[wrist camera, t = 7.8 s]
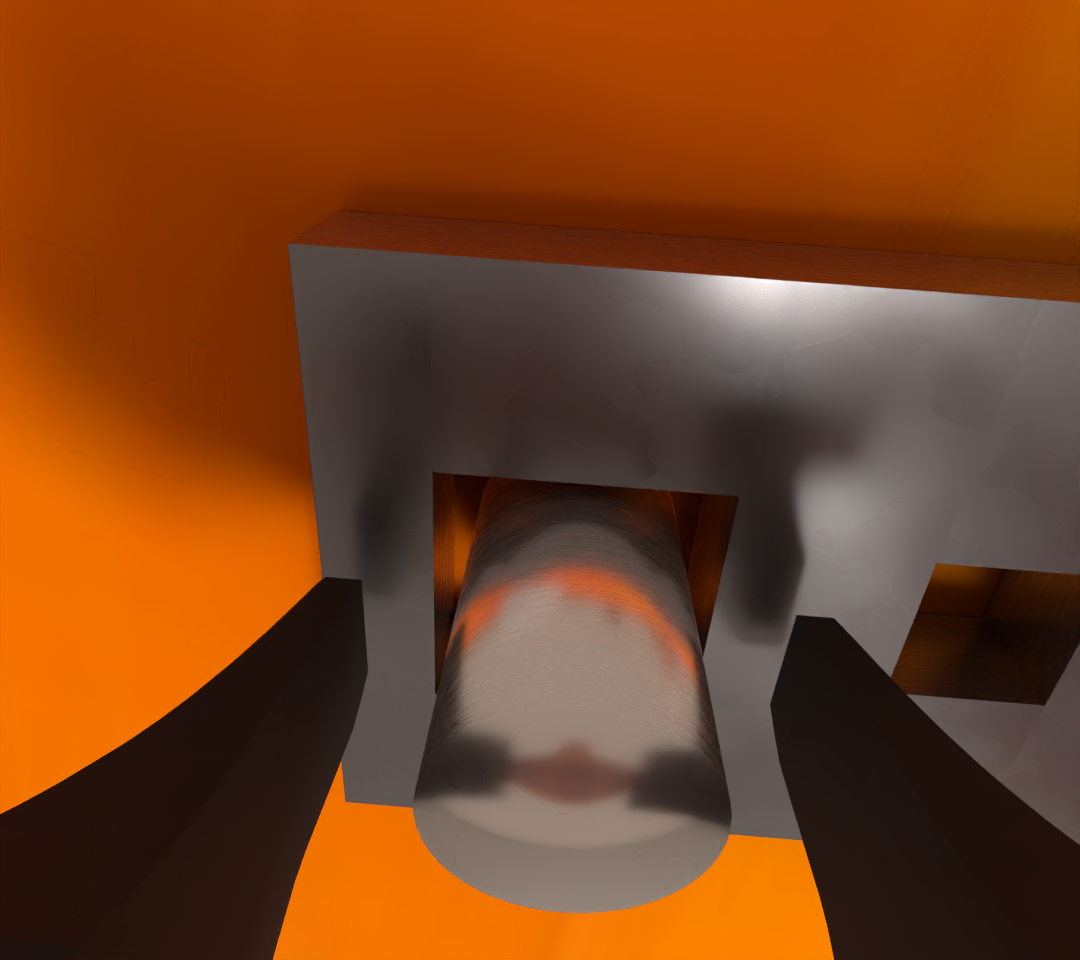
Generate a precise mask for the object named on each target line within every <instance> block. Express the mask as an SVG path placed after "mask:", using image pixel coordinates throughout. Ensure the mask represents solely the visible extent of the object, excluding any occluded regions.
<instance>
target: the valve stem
mask: <svg viewBox="0 0 1080 960" xmlns="http://www.w3.org/2000/svg"><path fill="white" fill-rule="evenodd" d="M413 813H414V818H415V822H416V826H417V829H418V831H419V834H420V836H421V838H422V840H423V842H424V843H425V845H426V846H427V848H428V850H429V851H430V852H431V853H432V855H433V856H434V857H435V858H436V859H437V860H438V862H439V863H441V864H442V865H443V866H444V867H445V868H446V869H447V870H448V871H449V872H451V873H452V874H453V875H455V876H456V877H458V878H459V879H460V880H462V881H463V882H465V883H467V884H468V885H470V886H472V887H474V888H476V889H477V890H479V891H482V892H484V893H486V894H488V895H491V896H493V897H495V898H498V899H501V900H504V901H507V902H510V903H513V904H517V905H521V906H525V907H529V908H534V909H540V910H546V911H555V912H565V913H594V912H607V911H614V910H622V909H626V908H631V907H635V906H640V905H643V904H646V903H649V902H653V901H656V900H658V899H661V898H663V897H666V896H668V895H670V894H673V893H674V892H676V891H678V890H680V889H682V888H683V887H685V886H687V885H688V884H690V883H691V882H693V881H694V880H695V879H697V878H698V877H700V876H701V875H702V874H703V873H704V872H705V871H706V870H707V869H708V868H709V867H710V866H711V865H712V864H713V863H714V861H715V860H716V859H717V858H718V856H719V855H720V853H721V851H722V850H723V848H724V846H725V844H726V842H727V839H728V836H729V833H730V829H731V820H732V812H731V802H730V797H729V791H728V786H727V781H726V776H725V771H724V765H723V760H722V755H721V750H720V745H719V739H718V734H717V729H716V724H715V719H714V713H713V708H712V703H711V698H710V692H709V687H708V682H707V677H706V672H705V666H704V661H703V656H702V651H701V646H700V640H699V635H698V630H697V625H696V620H695V614H694V609H693V604H692V599H691V593H690V588H689V583H688V578H687V573H686V567H685V562H684V557H683V552H682V547H681V541H680V536H679V531H678V526H677V521H676V515H675V510H674V505H673V500H672V497H671V493H670V491H666V490H653V489H641V488H628V487H615V486H602V485H590V484H577V483H564V482H551V481H539V480H526V479H513V478H500V477H490V478H489V480H488V482H487V484H486V486H485V489H484V492H483V494H482V499H481V503H480V508H479V512H478V516H477V521H476V525H475V530H474V534H473V538H472V543H471V547H470V551H469V556H468V560H467V565H466V569H465V573H464V578H463V582H462V587H461V591H460V595H459V600H458V604H457V608H456V613H455V617H454V622H453V626H452V630H451V635H450V639H449V643H448V648H447V652H446V657H445V661H444V665H443V670H442V674H441V679H440V683H439V687H438V692H437V696H436V700H435V705H434V709H433V714H432V718H431V722H430V727H429V731H428V736H427V740H426V744H425V749H424V753H423V757H422V762H421V766H420V771H419V775H418V779H417V784H416V788H415V794H414V799H413Z"/></svg>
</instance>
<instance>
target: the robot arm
mask: <svg viewBox="0 0 1080 960" xmlns="http://www.w3.org/2000/svg"><path fill="white" fill-rule="evenodd" d="M367 674H368V662H367V647H366V633H365V619H364V605H363V591H362V580H359V579H347V578H335V577H325V578H323V579H322V580H321V581H320V582H318V583H317V584H316V585H315V586H314V587H313V588H312V589H311V590H310V591H309V592H308V593H307V594H306V595H305V596H304V597H303V598H302V599H301V600H300V601H299V602H297V603H296V604H295V605H294V606H293V607H292V608H291V609H290V610H289V611H288V612H287V613H286V614H285V615H284V616H283V617H282V618H281V619H280V620H279V621H278V622H276V623H275V624H274V625H273V626H272V627H271V628H270V629H269V630H268V631H267V632H266V633H265V634H263V635H262V636H261V637H260V638H259V639H258V640H257V641H256V642H255V643H253V644H252V645H251V646H250V647H249V648H248V649H247V650H246V651H245V652H243V653H242V654H241V655H240V656H239V657H238V658H237V659H236V660H234V661H233V662H232V663H231V664H230V665H229V666H227V667H226V668H225V669H224V670H222V671H221V672H220V673H219V674H217V675H216V676H215V677H214V678H213V679H211V680H210V681H209V682H208V683H206V684H205V685H204V686H203V687H202V688H200V689H199V690H198V691H197V692H195V693H194V694H193V695H192V696H190V697H189V698H188V699H187V700H185V701H184V702H183V703H181V704H180V705H179V706H177V707H176V708H175V709H173V710H172V711H171V712H169V713H168V714H166V715H165V716H164V717H162V718H161V719H160V720H158V721H157V722H155V723H154V724H152V725H151V726H149V727H148V728H147V729H145V730H144V731H142V732H141V733H139V734H138V735H136V736H135V737H133V738H132V739H130V740H129V741H127V742H126V743H124V744H123V745H121V746H120V747H118V748H116V749H115V750H113V751H111V752H110V753H108V754H106V755H105V756H103V757H101V758H100V759H98V760H96V761H95V762H93V763H91V764H90V765H88V766H86V767H85V768H83V769H81V770H80V771H78V772H77V773H75V774H73V775H72V776H70V777H68V778H67V779H65V780H63V781H62V782H60V783H58V784H56V785H55V786H53V787H51V788H49V789H47V790H45V791H44V792H42V793H40V794H38V795H36V796H34V797H32V798H31V799H29V800H27V801H25V802H23V803H21V804H20V805H18V806H16V807H14V808H12V809H10V810H8V811H6V812H4V813H2V814H0V960H273V956H274V953H275V949H276V945H277V942H278V938H279V935H280V931H281V928H282V924H283V921H284V917H285V914H286V911H287V907H288V904H289V900H290V897H291V893H292V890H293V886H294V883H295V880H296V877H297V874H298V871H299V868H300V865H301V862H302V859H303V857H304V854H305V851H306V848H307V846H308V843H309V841H310V838H311V836H312V833H313V831H314V828H315V826H316V823H317V820H318V818H319V815H320V813H321V810H322V808H323V805H324V803H325V800H326V798H327V795H328V793H329V790H330V788H331V785H332V782H333V780H334V777H335V775H336V772H337V770H338V767H339V765H340V762H341V759H342V757H343V754H344V752H345V749H346V747H347V744H348V741H349V739H350V736H351V733H352V731H353V728H354V725H355V721H356V717H357V714H358V710H359V706H360V702H361V698H362V694H363V690H364V686H365V682H366V678H367ZM770 709H771V715H772V722H773V728H774V735H775V741H776V746H777V752H778V757H779V763H780V766H781V770H782V773H783V777H784V780H785V784H786V787H787V790H788V794H789V797H790V801H791V804H792V807H793V811H794V814H795V817H796V820H797V824H798V827H799V830H800V833H801V837H802V840H803V843H804V847H805V850H806V853H807V856H808V860H809V863H810V866H811V870H812V873H813V876H814V879H815V883H816V886H817V889H818V892H819V896H820V900H821V903H822V907H823V911H824V915H825V919H826V923H827V926H828V931H829V936H830V941H831V946H832V951H833V956H834V960H1080V845H1079V844H1078V843H1077V842H1075V841H1074V840H1072V839H1071V838H1070V837H1068V836H1067V835H1066V834H1064V833H1063V832H1062V831H1061V830H1059V829H1058V828H1057V827H1055V826H1054V825H1053V824H1051V823H1050V822H1049V821H1047V820H1046V819H1045V818H1044V817H1042V816H1041V815H1040V814H1039V813H1037V812H1036V811H1035V810H1034V809H1032V808H1031V807H1030V806H1029V805H1028V804H1026V803H1025V802H1024V801H1023V800H1021V799H1020V798H1019V797H1018V796H1016V795H1015V794H1014V793H1013V792H1011V791H1010V790H1009V789H1008V788H1007V787H1005V786H1004V785H1003V784H1002V783H1001V782H999V781H998V780H997V779H996V778H995V777H994V776H992V775H991V774H990V773H989V772H988V771H987V770H985V769H984V768H983V767H982V766H981V765H980V764H979V763H978V762H977V761H976V760H974V759H973V758H972V757H971V756H970V755H969V754H968V753H967V752H966V751H965V750H964V749H962V748H961V747H960V746H959V745H958V744H957V743H956V742H955V741H954V740H953V739H952V738H950V737H949V736H948V735H947V734H946V733H945V732H944V731H943V730H942V729H941V728H940V727H939V726H938V725H937V724H936V723H935V722H934V721H933V720H932V719H931V718H930V717H929V716H928V715H927V714H926V713H925V712H924V711H923V710H922V709H921V708H920V707H919V706H918V705H917V704H916V703H915V702H914V701H913V700H912V699H911V698H910V697H909V696H908V695H907V694H906V693H905V692H904V691H903V690H902V689H901V688H900V687H899V686H898V685H897V684H896V683H895V682H894V681H893V680H892V679H891V678H890V676H889V675H888V674H887V673H886V672H885V671H884V670H883V669H882V668H881V667H880V666H879V665H878V664H877V663H876V662H875V661H874V660H873V658H872V657H871V656H870V655H869V654H868V653H867V652H866V651H865V650H864V649H863V648H862V647H861V646H860V645H859V643H858V642H857V641H856V640H855V639H854V638H853V637H852V636H851V635H850V634H849V633H848V632H847V631H846V630H845V629H844V628H843V627H842V626H841V625H840V624H839V623H838V622H837V621H836V620H835V619H834V618H829V617H817V616H804V615H796V618H795V622H794V625H793V628H792V632H791V635H790V639H789V642H788V645H787V649H786V652H785V655H784V659H783V662H782V665H781V669H780V672H779V675H778V679H777V682H776V685H775V689H774V692H773V695H772V699H771V702H770Z"/></svg>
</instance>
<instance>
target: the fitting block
mask: <svg viewBox="0 0 1080 960" xmlns="http://www.w3.org/2000/svg"><path fill="white" fill-rule="evenodd" d="M288 250H289V259H290V269H291V279H292V288H293V298H294V308H295V317H296V327H297V337H298V346H299V356H300V366H301V375H302V385H303V395H304V404H305V414H306V424H307V433H308V443H309V453H310V462H311V472H312V482H313V491H314V501H315V511H316V520H317V530H318V540H319V549H320V559H321V569H322V578H325V577H335V578H347V579H359V580H362V591H363V605H364V619H365V633H366V647H367V662H368V674H367V678H366V682H365V686H364V690H363V694H362V698H361V702H360V706H359V710H358V714H357V717H356V721H355V725H354V728H353V731H352V733H351V736H350V739H349V741H348V744H347V747H346V749H345V752H344V754H343V757H342V759H341V762H342V771H343V781H344V791H345V800H346V802H353V803H365V804H377V805H389V806H401V807H412V808H413V799H414V794H415V788H416V784H417V779H418V775H419V771H420V766H421V762H422V757H423V753H424V749H425V744H426V740H427V736H428V731H429V727H430V722H431V718H432V714H433V709H434V705H435V700H436V696H437V692H438V687H439V683H440V679H441V674H442V670H443V665H444V661H445V657H446V652H447V648H448V643H449V639H450V635H451V630H452V626H453V622H454V617H455V613H456V612H454V526H455V474H462V475H475V476H488V477H500V478H513V479H526V480H539V481H551V482H564V483H577V484H590V485H602V486H615V487H628V488H641V489H653V490H666V491H679V492H692V493H703V497H702V502H701V507H700V512H699V517H698V522H697V527H696V532H695V537H694V542H693V547H692V552H691V557H690V562H689V567H688V572H687V578H688V583H689V588H690V593H691V599H692V604H693V609H694V614H695V620H696V625H697V630H698V635H699V640H700V646H701V651H702V656H703V661H704V666H705V672H706V677H707V682H708V687H709V692H710V698H711V703H712V708H713V713H714V719H715V724H716V729H717V734H718V739H719V745H720V750H721V755H722V760H723V765H724V771H725V776H726V781H727V786H728V791H729V797H730V802H731V812H732V820H731V829H730V833H729V834H734V835H746V836H758V837H770V838H782V839H794V840H802V837H801V833H800V830H799V827H798V824H797V820H796V817H795V814H794V811H793V807H792V804H791V801H790V797H789V794H788V790H787V787H786V784H785V780H784V777H783V773H782V770H781V766H780V763H779V757H778V752H777V746H776V741H775V735H774V728H773V722H772V715H771V709H770V702H771V699H772V695H773V692H774V689H775V685H776V682H777V679H778V675H779V672H780V669H781V665H782V662H783V659H784V655H785V652H786V649H787V645H788V642H789V639H790V635H791V632H792V628H793V625H794V622H795V618H796V615H804V616H817V617H829V618H834V619H835V620H836V621H837V622H838V623H839V624H840V625H841V626H842V627H843V628H844V629H845V630H846V631H847V632H848V633H849V634H850V635H851V636H852V637H853V638H854V639H855V640H856V641H857V642H858V643H859V645H860V646H861V647H862V648H863V649H864V650H865V651H866V652H867V653H868V654H869V655H870V656H871V657H872V658H873V660H874V661H875V662H876V663H877V664H878V665H879V666H880V667H881V668H882V669H883V670H884V671H885V672H886V673H887V674H888V675H889V676H890V678H891V679H892V680H893V681H894V682H895V683H896V684H897V685H898V686H899V687H900V688H901V689H902V690H903V691H904V692H905V693H906V694H907V695H908V696H909V697H910V698H911V699H912V700H913V701H914V702H915V703H916V704H917V705H918V706H919V707H920V708H921V709H922V710H923V711H924V712H925V713H926V714H927V715H928V716H929V717H930V718H931V719H932V720H933V721H934V722H935V723H936V724H937V725H938V726H939V727H940V728H941V729H942V730H943V731H944V732H945V733H946V734H947V735H948V736H949V737H950V738H952V739H953V740H954V741H955V742H956V743H957V744H958V745H959V746H960V747H961V748H962V749H964V750H965V751H966V752H967V753H968V754H969V755H970V756H971V757H972V758H973V759H974V760H976V761H977V762H978V763H979V764H980V765H981V766H982V767H983V768H984V769H985V770H987V771H988V772H989V773H990V774H991V775H992V776H994V777H995V778H996V779H997V780H998V781H999V782H1001V783H1002V784H1003V785H1004V786H1005V787H1007V788H1008V789H1009V790H1010V791H1011V792H1013V793H1014V794H1015V795H1016V796H1018V797H1019V798H1020V799H1021V800H1023V801H1024V802H1025V803H1026V804H1028V805H1029V806H1030V807H1031V808H1032V809H1034V810H1035V811H1036V812H1037V813H1039V814H1040V815H1041V816H1042V817H1044V818H1045V819H1046V820H1047V821H1049V822H1050V823H1051V824H1053V825H1054V826H1055V827H1057V828H1058V829H1059V830H1061V831H1062V832H1063V833H1064V834H1066V835H1067V836H1068V837H1070V838H1071V839H1072V840H1074V841H1075V842H1077V843H1078V844H1079V845H1080V265H1068V264H1055V263H1041V262H1028V261H1014V260H1001V259H987V258H974V257H960V256H947V255H933V254H920V253H906V252H893V251H879V250H866V249H852V248H839V247H825V246H812V245H798V244H785V243H771V242H758V241H744V240H731V239H717V238H704V237H690V236H677V235H663V234H650V233H637V232H623V231H610V230H596V229H583V228H569V227H556V226H542V225H529V224H515V223H502V222H488V221H475V220H461V219H448V218H434V217H421V216H407V215H394V214H380V213H367V212H353V211H340V210H338V211H337V212H335V213H334V214H332V215H331V216H329V217H327V218H326V219H324V220H323V221H321V222H320V223H318V224H317V225H315V226H314V227H312V228H311V229H309V230H308V231H306V232H305V233H303V234H302V235H300V236H299V237H297V238H295V239H294V240H292V241H291V242H289V243H288ZM936 563H938V564H950V565H963V566H976V567H988V568H1001V569H1006V570H1005V573H1004V575H1003V577H1002V579H1001V581H1000V583H999V586H998V588H997V590H996V592H995V594H994V596H993V599H992V601H991V603H990V605H989V607H988V609H987V612H986V614H985V616H984V618H975V617H962V616H950V615H937V614H925V613H917V611H918V608H919V606H920V603H921V601H922V598H923V596H924V593H925V591H926V588H927V586H928V583H929V581H930V578H931V576H932V573H933V571H934V568H935V566H936Z"/></svg>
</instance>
